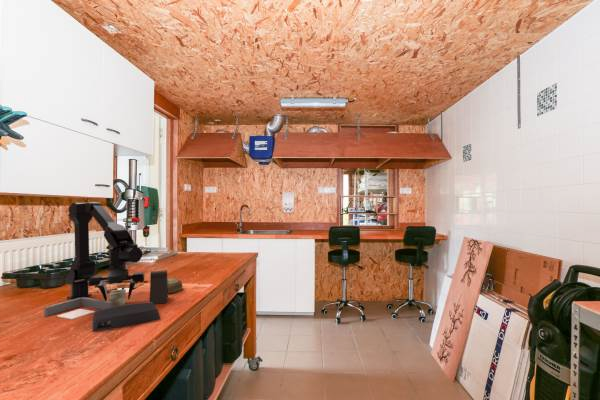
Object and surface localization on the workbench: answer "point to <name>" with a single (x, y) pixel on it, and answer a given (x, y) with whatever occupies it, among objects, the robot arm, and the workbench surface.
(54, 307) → the l-shaped corner bracket
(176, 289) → the weight
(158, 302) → the phone stand
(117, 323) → the external hard drive
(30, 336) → the workbench surface
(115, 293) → the cube
